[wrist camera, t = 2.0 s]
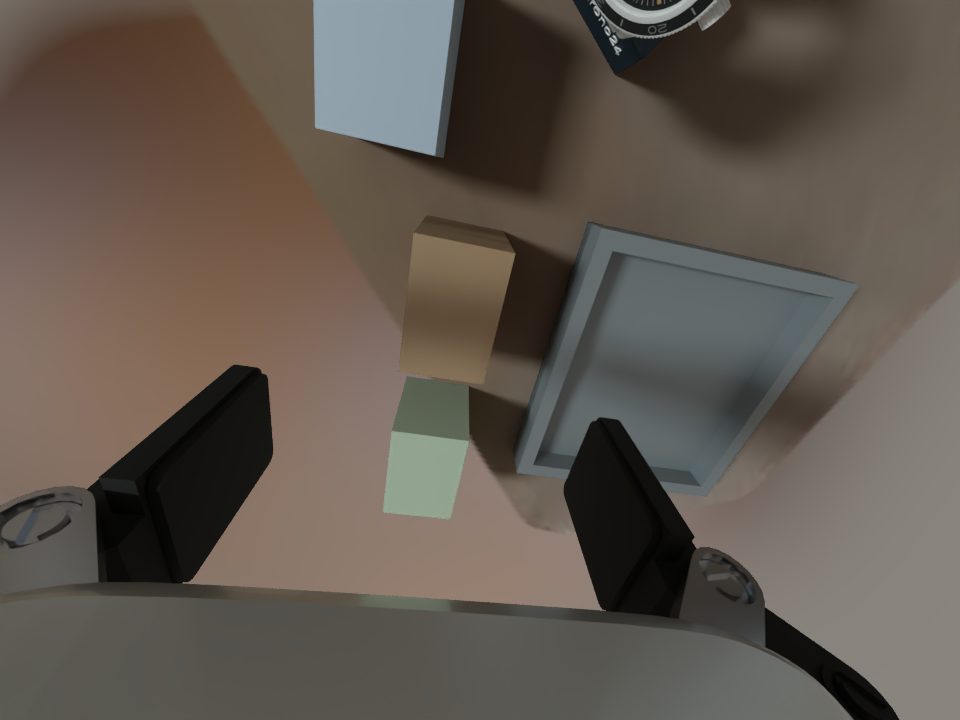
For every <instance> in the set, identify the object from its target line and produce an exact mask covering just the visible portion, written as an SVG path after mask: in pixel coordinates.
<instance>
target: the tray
mask: <svg viewBox="0 0 960 720" xmlns="http://www.w3.org/2000/svg"><path fill="white" fill-rule="evenodd" d="M858 286H859V284H856V283H852V282H849V281H846V280H843V279H839V278H836V277H833V276H830V275H826V274H823V273H818V272H814V271H809V270H805V269H800V268H796V267H791V266H787V265H782V264H778V263H773V262H769V261H764V260H760V259H755V258H751V257H746V256H741V255H737V254H732V253H728V252H723V251H719V250H714V249H710V248H705V247H701V246H696V245H692V244H687V243H683V242H678V241H674V240H669V239H665V238H660V237H656V236H651V235H646V234H642V233H637V232H633V231H628V230H624V229H619V228H615V227H610V226H606V225H601V224H597V223H592V222H588V224H587V227H586V230H585V233H584V236H583V239H582V242H581V245H580V248H579V251H578V255H577V258H576V261H575V264H574V267H573V270H572V273H571V276H570V279H569V282H568V285H567V288H566V291H565V294H564V297H563V300H562V303H561V306H560V310H559V313H558V316H557V319H556V322H555V325H554V328H553V331H552V334H551V337H550V340H549V343H548V346H547V349H546V352H545V355H544V358H543V361H542V365H541V368H540V371H539V374H538V377H537V380H536V383H535V386H534V389H533V392H532V395H531V398H530V401H529V404H528V407H527V410H526V413H525V417H524V420H523V423H522V426H521V429H520V432H519V435H518V438H517V441H516V444H515V447H514V450H513V452H514V458H515V464H516V471H517V473H521V474H529V475H537V476H545V477H553V478H561V479H567V477H568V475H569V472H570V470H571V468H572V465H573V463H574V460H575V458H576V456H577V453H578V451H579V449H580V446H581V444H582V442H583V439H584V437H585V434H586V432H587V430H588V427H589V425H590V423H591V422H592V421H596V420H597V419H598V418H599V417H604V418H611V419H617V420H619V421H620V422H621V423H622V425H623V426H624V428H625V429H626V431H627V433H628V434H629V436H630V437H631V439H632V440H633V442H634V443H635V445H636V447H637V448H638V450H639V451H640V453H641V454H642V456H643V457H644V459H645V461H646V462H647V464H648V465H649V467H650V468H651V470H652V471H653V473H654V475H655V476H656V478H657V479H658V481H659V482H660V484H661V485H662V487H663V489H664V490H665V491H666V492H674V493H682V494H690V495H698V496H707V495H708V494H709V492H710V491H711V490H712V488H713V487H714V485H715V484H716V483H717V481H718V480H719V478H720V477H721V476H722V474H723V473H724V472H725V470H726V469H727V467H728V466H729V465H730V463H731V462H732V461H733V459H734V458H735V456H736V455H737V454H738V452H739V451H740V449H741V448H742V447H743V445H744V444H745V443H746V441H747V440H748V438H749V437H750V436H751V434H752V433H753V432H754V430H755V429H756V427H757V426H758V425H759V423H760V422H761V420H762V419H763V418H764V416H765V415H766V414H767V412H768V411H769V409H770V408H771V407H772V405H773V404H774V403H775V401H776V400H777V398H778V397H779V396H780V394H781V393H782V391H783V390H784V389H785V387H786V386H787V385H788V383H789V382H790V380H791V379H792V378H793V376H794V375H795V373H796V372H797V371H798V369H799V368H800V367H801V365H802V364H803V362H804V361H805V360H806V358H807V357H808V356H809V354H810V353H811V351H812V350H813V349H814V347H815V346H816V344H817V343H818V342H819V340H820V339H821V338H822V336H823V335H824V333H825V332H826V331H827V329H828V328H829V327H830V325H831V324H832V322H833V321H834V320H835V318H836V317H837V315H838V314H839V313H840V311H841V310H842V309H843V307H844V306H845V304H846V303H847V302H848V300H849V299H850V298H851V296H852V295H853V293H854V292H855V291H856V289H857V288H858Z"/></svg>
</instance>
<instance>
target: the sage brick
mask: <svg viewBox="0 0 960 720" xmlns="http://www.w3.org/2000/svg"><path fill="white" fill-rule="evenodd" d="M468 444H469V386H465V385H458V384H452V383H445V382H439V381H432V380H429V379H422V378H415V377H409V376H407V378H406V382H405V385H404V389H403V393H402V396H401V400H400V404H399V407H398V411H397V414H396V418H395V421H394V425H393V428H392V434H391V443H390V452H389V461H388V470H387V479H386V488H385V497H384V506H383V512H385V513H395V514H404V515H413V516H423V517H433V518H443V519H450V518H451V514H452V510H453V505H454V501H455V497H456V493H457V489H458V485H459V481H460V477H461V473H462V469H463V465H464V461H465V457H466V452H467V448H468Z"/></svg>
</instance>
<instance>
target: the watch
mask: <svg viewBox="0 0 960 720" xmlns="http://www.w3.org/2000/svg"><path fill="white" fill-rule="evenodd" d="M573 1H574V3H575V5H576V7H577V8H578V10H579V12H580V14H581V15H582V17H583V19H584V21H585V23H586V24H587V26H588V28H589V30H590V31H591V33H592V35H593V37H594V39H595V40H596V42H597V44H598V46H599V47H600V49H601V51H602V53H603V55H604V56H605V58H606V60H607V62H608V63H609V65H610V67H611V69H612V71H613V72H614V74H615V75H616V74H617V73H619V72H621V71H622V70H624V69H626V68H627V67H629V66H631V65H632V64H634V63H636V62H637V61H639V60H641V59H642V58H643V57H644V56H645V55H646V54H647V53H648V52H649V51H650V50H652V49H653V48H654V47H655V46H656V45H657V44H658V43H659V42H660V41H661V40H662V39H663V38H664V37H666V36H667V35H668V36H669V35H671V34H674V33H675V32H676V33H677V32H679V31H680V30H681V31H682V30H683V29H684V28H687V27H688V26H690V25H692V23H695V22H696V21H697V22H698V24H699V26H700V28H701V31H703V30H705V29H706V28H708V27H709V26H711V25H712V24H714V23H715V22H716V21H717V20H718V19H720V18H721V17H722V16H723V15H724V14H725V13H726V12H727V11H728V10H729V8H730V7H731V4H730V1H729V0H573Z"/></svg>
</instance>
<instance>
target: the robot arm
mask: <svg viewBox="0 0 960 720" xmlns="http://www.w3.org/2000/svg"><path fill="white" fill-rule="evenodd" d="M272 455H273V440H272V427H271V415H270V402H269V388H268V378H267V375H265V374H262V373H261V370H260V369H259V368H256V367H248V366H242V365H233V366H231V367H230V368H229V369H228V370H226V371H225V372H224V373H223V374H222V375H221V376H219V377H218V378H217V379H216V380H215V381H213V382H212V383H211V384H210V385H209V386H207V387H206V388H205V389H204V390H203V391H201V392H200V393H199V394H198V395H197V396H195V397H194V398H193V399H192V400H191V401H189V402H188V403H187V404H186V405H185V406H183V407H182V408H181V409H180V410H179V411H178V412H176V413H175V414H174V415H173V416H172V417H171V418H169V419H168V420H167V421H166V422H164V423H163V424H162V425H161V426H160V427H159V428H157V429H156V430H155V431H154V432H152V433H151V434H150V435H149V436H148V437H146V438H145V439H144V440H143V441H142V442H141V443H139V444H138V445H137V446H136V447H135V448H133V449H132V450H131V451H130V452H129V453H128V454H126V455H125V456H124V457H123V458H121V459H120V460H119V461H118V462H117V463H116V464H114V465H113V466H112V467H111V468H110V469H108V470H107V471H106V472H105V473H104V474H102V475H101V476H100V477H99V479H98V480H97V481H96V482H95V483H94V484H93V485H91V486H90V487H89V488H88V489H87V490H86V489H84V488H80V487H74V486H65V487H53V488H48V489H43V490H38V491H35V492H32V493H29V494H26V495H23V496H20V497H17V498H15V499H13V500H11V501H9V502H7V503H4V504H2V505H0V720H899V718H898V717H897V715H896V713H895V712H894V710H893V709H892V707H891V706H890V705H889V704H888V702H887V701H886V700H885V699H884V697H883V696H882V695H881V694H880V693H879V692H878V691H877V690H876V689H875V688H874V687H873V686H872V685H871V684H870V683H869V682H868V681H867V680H866V679H865V678H864V677H862V676H861V675H860V674H859V673H857V672H856V671H855V670H854V669H852V668H851V667H849V666H848V665H847V664H845V663H844V662H842V661H841V660H840V659H838V658H837V657H835V656H834V655H832V654H831V653H830V652H828V651H827V650H825V649H824V648H822V647H821V646H820V645H818V644H817V643H815V642H814V641H812V640H811V639H809V638H808V637H807V636H805V635H804V634H802V633H801V632H800V631H798V630H797V629H795V628H794V627H792V626H791V625H790V624H788V623H786V622H785V621H784V620H782V619H781V618H780V617H778V616H777V615H775V614H774V613H772V612H771V611H769V610H768V609H767V608H765V601H764V597H763V592H762V590H761V588H760V587H759V585H758V583H757V581H756V580H755V579H754V577H752V575H751V574H750V572H748V570H747V569H745V568H744V567H743V566H742V565H741V564H740V563H739V562H737V561H736V560H735V559H733V558H732V557H731V556H729V555H727V554H725V553H723V552H721V551H719V550H717V549H713V548H710V547H700V548H698V549H696V547H695V545H694V544H693V543H692V540H693V538H694V535H693V534H692V532H691V531H690V529H689V528H688V526H687V524H686V523H685V521H684V520H683V518H682V517H681V515H680V514H679V512H678V510H677V509H676V507H675V506H674V504H673V503H672V501H671V499H670V498H669V496H668V495H667V493H666V492H665V490H664V489H663V487H662V485H661V484H660V482H659V481H658V479H657V478H656V476H655V475H654V473H653V471H652V470H651V468H650V467H649V465H648V464H647V462H646V461H645V459H644V457H643V456H642V454H641V453H640V451H639V450H638V448H637V447H636V445H635V443H634V442H633V440H632V439H631V437H630V436H629V434H628V433H627V431H626V429H625V428H624V426H623V425H622V423H621V422H620V421H619V420H617V419H611V418H604V417H599V418H598V419H597V420H596V421H592V422H591V423H590V425H589V427H588V430H587V432H586V434H585V437H584V439H583V442H582V444H581V446H580V449H579V451H578V453H577V456H576V458H575V460H574V463H573V465H572V468H571V470H570V472H569V475H568V477H567V479H566V482H565V484H564V496H565V500H566V503H567V506H568V509H569V512H570V515H571V518H572V521H573V525H574V528H575V531H576V534H577V537H578V540H579V543H580V546H581V550H582V553H583V556H584V559H585V562H586V565H587V568H588V571H589V575H590V578H591V580H592V584H593V587H594V590H595V593H596V596H597V600H598V603H599V605H600V607H601V608H602V609H603V610H606V611H599V610H586V609H585V610H584V609H572V608H558V607H544V606H531V605H517V604H504V603H503V604H502V603H490V602H474V601H460V600H445V599H430V598H416V597H401V596H400V597H399V596H385V595H370V594H354V593H339V592H338V593H337V592H322V591H306V590H290V589H273V588H256V587H240V586H221V585H197V584H182V583H183V582H189V581H190V580H191V579H193V577H194V576H195V575H196V573H197V572H198V570H199V569H200V567H201V566H202V564H203V563H204V561H205V560H206V558H207V557H208V555H209V554H210V552H211V551H212V549H213V548H214V546H215V545H216V543H217V541H218V540H219V539H220V537H221V536H222V534H223V533H224V531H225V530H226V528H227V526H228V525H229V523H230V522H231V521H232V519H233V517H234V516H235V514H236V513H237V512H238V510H239V508H240V507H241V505H242V504H243V502H244V501H245V499H246V498H247V496H248V495H249V493H250V492H251V490H252V489H253V487H254V486H255V484H256V483H257V481H258V480H259V478H260V477H261V475H262V474H263V472H264V471H265V469H266V468H267V466H268V465H269V463H270V461H271V458H272Z"/></svg>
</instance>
